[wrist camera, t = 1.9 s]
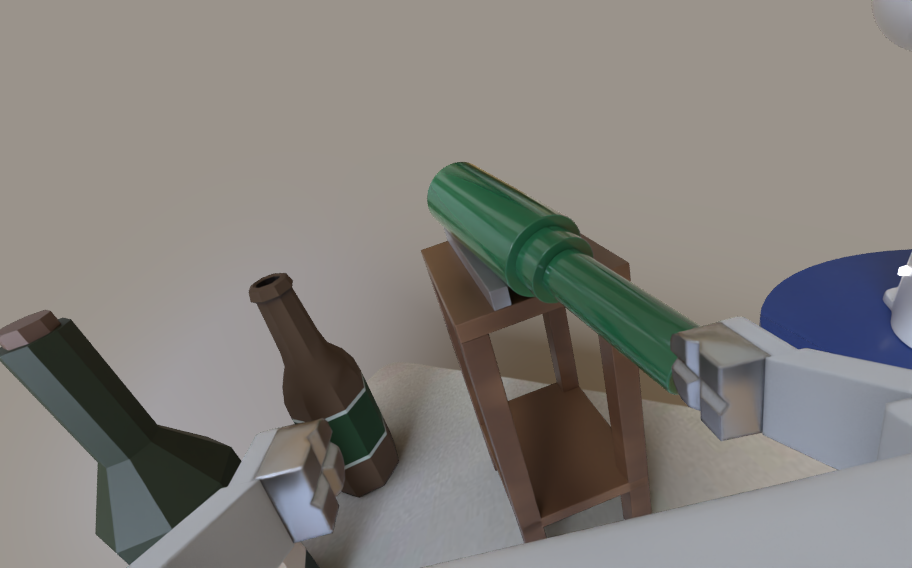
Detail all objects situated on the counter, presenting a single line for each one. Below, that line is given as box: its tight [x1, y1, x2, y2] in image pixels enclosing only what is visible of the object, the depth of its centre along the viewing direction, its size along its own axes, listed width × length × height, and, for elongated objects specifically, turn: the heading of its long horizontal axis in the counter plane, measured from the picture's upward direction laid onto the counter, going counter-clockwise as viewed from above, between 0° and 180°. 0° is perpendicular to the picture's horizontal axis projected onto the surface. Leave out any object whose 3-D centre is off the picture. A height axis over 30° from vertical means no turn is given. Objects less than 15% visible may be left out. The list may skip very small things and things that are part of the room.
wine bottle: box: [0, 310, 319, 568], centre depth 29 cm, size 8×8×30 cm
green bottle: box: [427, 162, 701, 395], centre depth 21 cm, size 18×4×4 cm, turn 24°
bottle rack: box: [421, 228, 652, 543], centre depth 33 cm, size 10×12×25 cm
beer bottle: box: [249, 273, 399, 497], centre depth 41 cm, size 8×8×24 cm
